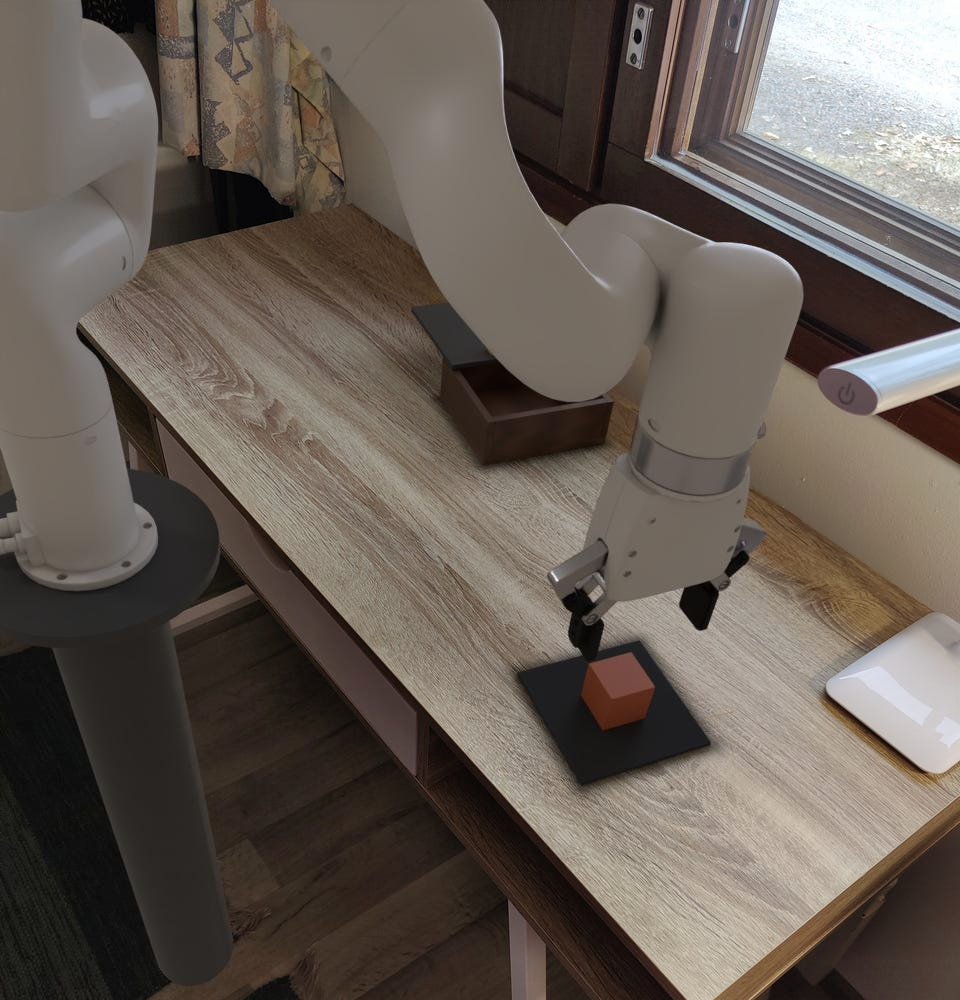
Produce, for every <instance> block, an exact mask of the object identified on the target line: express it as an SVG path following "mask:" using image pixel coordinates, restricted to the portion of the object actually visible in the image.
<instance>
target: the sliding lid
mask: <svg viewBox="0 0 960 1000" xmlns="http://www.w3.org/2000/svg"><path fill="white" fill-rule="evenodd" d="M410 309H411V310H410V312H411V314H412V315H413V316H414V318H415V319H416V321H417V322H418V323H419V325H420V326H421V327H422V329H423V330H424V332H425V333H426V336H428V338H429V339H430V340H431V342H432V343H433V345H434V347H435V348H436V349H437V351H438V352H439V353H440V354H441V357H442V359H443V358H444V359H445V360H446V362H447V363H448V365H449V366H450V368H451V369H452V370H454V369H460V368H467V367H474V366H480V365H487V364H494V363H500V362H499V360H498V359H497V358H496V357H495V356H494V355H493V354H492V353H491V352H490V351H489V350H488V348H487V347H486V346H485V345H484V344H483V343H482V341H481V340H480V339H479V338H478V337H477V336H476V334H475V333H474V332H473V331H472V330H471V329H470V327H469V326H468V325H467V324H466V323H465V322H464V320H463V319H462V318H461V317H460V316H459V314H458V313H457V312H456V311H455V310H454V308H453V307H452V306H451V304H450V303H449V302H448V301H447V302H439V303H432V304H423V305H415V306H411V308H410Z"/></svg>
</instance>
